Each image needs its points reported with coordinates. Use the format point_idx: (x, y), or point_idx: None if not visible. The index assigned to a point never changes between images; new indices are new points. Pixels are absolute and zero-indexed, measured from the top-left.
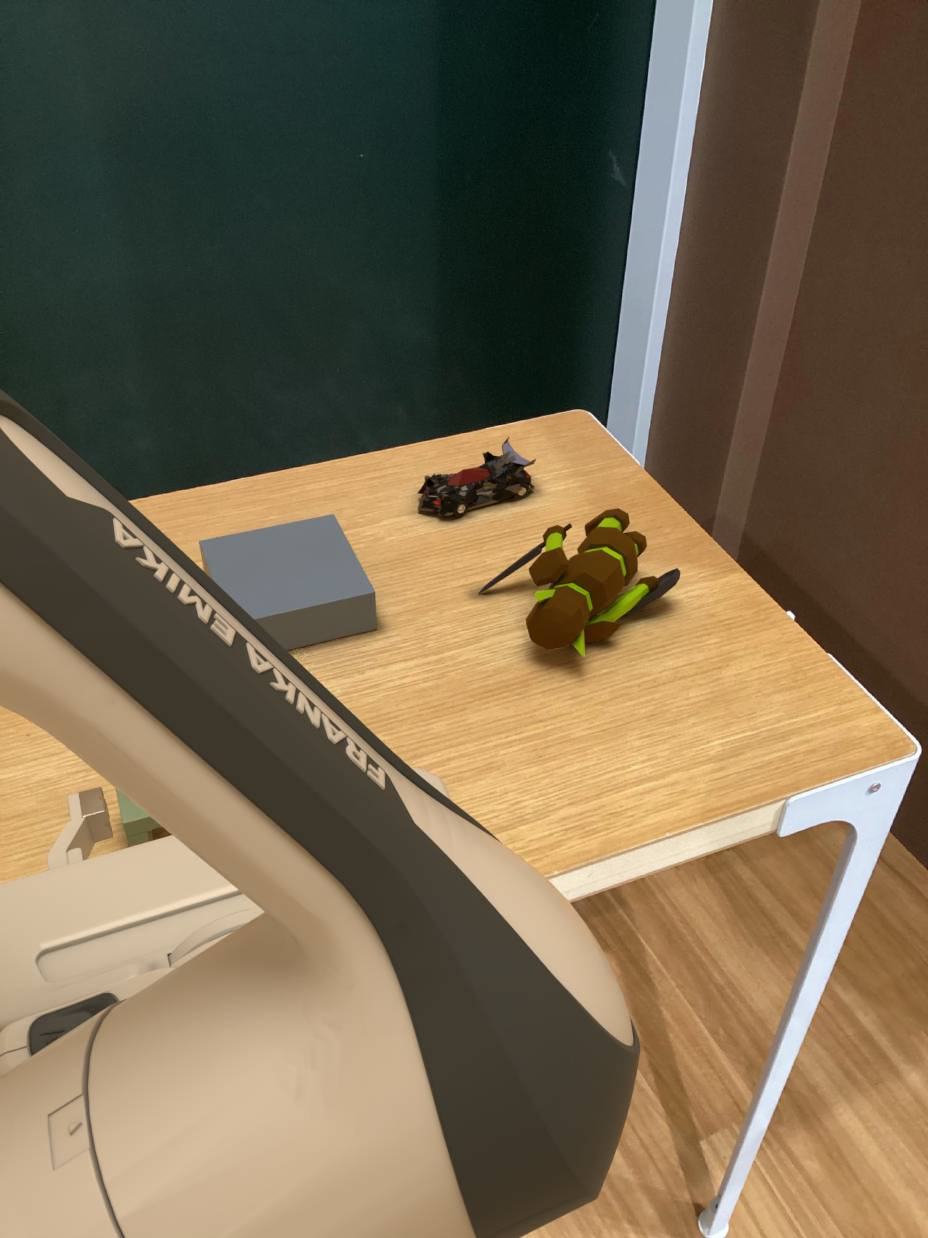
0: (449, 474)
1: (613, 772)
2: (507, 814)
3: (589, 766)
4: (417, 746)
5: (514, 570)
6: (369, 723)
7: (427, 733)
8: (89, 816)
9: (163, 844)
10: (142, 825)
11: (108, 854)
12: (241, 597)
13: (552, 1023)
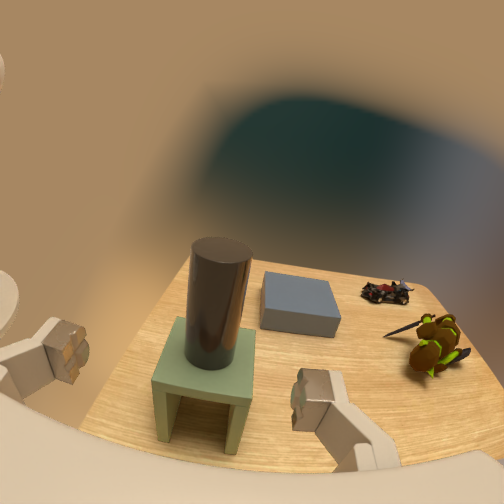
0: (377, 285)
1: (434, 441)
2: None
3: (424, 435)
4: None
5: (403, 330)
6: None
7: None
8: (46, 346)
9: (60, 439)
10: (163, 387)
11: (2, 397)
12: (275, 298)
13: None
